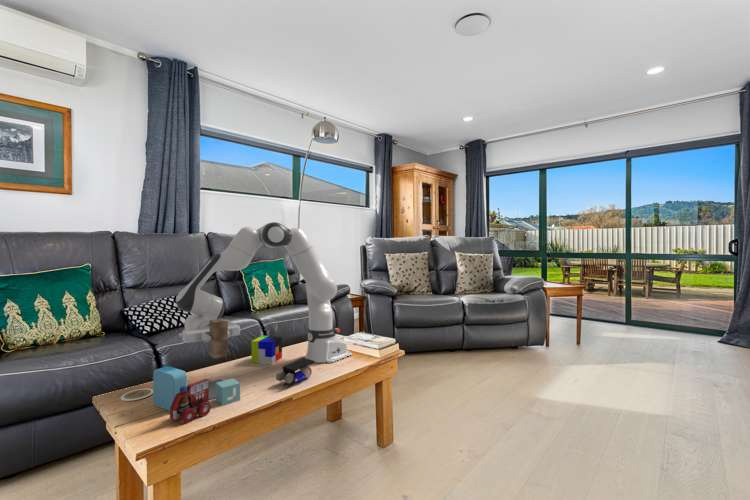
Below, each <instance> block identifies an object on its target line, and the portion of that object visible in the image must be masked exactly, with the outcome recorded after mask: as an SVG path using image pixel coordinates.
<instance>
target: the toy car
mask: <svg viewBox="0 0 750 500" xmlns="http://www.w3.org/2000/svg"><path fill="white" fill-rule="evenodd" d="M312 364H315V362H314V361H313V360H310V359H306V358H305V357H302V358H300V359H298V360H295V361H292V362H291V363H288V364H286V365H284V366H282V370H281V371H278V372H277V373H276V375H275V380H276V381H279V382H283V381H284V383H283V384H282V386H286V385H288V384H289V385H288V386H287V388H290V387H292V386H293V385H295V383H296V382H300V381H302V380H303V379H308V378H310V377H311V375H312V373H313V371H312V368H311V367H310V365H312Z"/></svg>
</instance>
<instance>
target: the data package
mask: <svg viewBox="0 0 750 500" xmlns="http://www.w3.org/2000/svg"><path fill="white" fill-rule="evenodd" d="M152 374H153V375H152V378H153V379H152V383H153V385H152V390H153V391H152V392H153V393H152V394H153V396H152V397H153V404H154V406H157V407H159V408H161V409H164V410H166V411H168V412H170V407H171V405H172V402H173V400H174V398H175V396H176V394H178V393H180V388H181V387H182V386H186V387H187V386H188V377H187V376H188V374H187V372H186V371H185V370H182V369H179V368H176V367H174V366H171V365H167V366H163V367H160V368H156V369H154V370H153V372H152ZM186 397H187V396H186Z"/></svg>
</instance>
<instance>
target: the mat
mask: <svg viewBox="0 0 750 500" xmlns="http://www.w3.org/2000/svg"><path fill="white" fill-rule="evenodd" d="M221 381H224V380H223V379H216V380H213V381H211V380H210V387H209V401H212V400H216V383H217V382H221Z"/></svg>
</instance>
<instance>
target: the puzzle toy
mask: <svg viewBox="0 0 750 500" xmlns="http://www.w3.org/2000/svg"><path fill="white" fill-rule="evenodd" d="M250 349H251V352H250V353H251V355H250V356H251V358H250V359H251V362H250V363H251V364H259V363H261V365H273V364H275V363H277V362H278V361H279V360H281V359H282V358H283V337H282V336H274V335H261V336H259V337H257V338H255V339H253V340H251V348H250Z"/></svg>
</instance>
